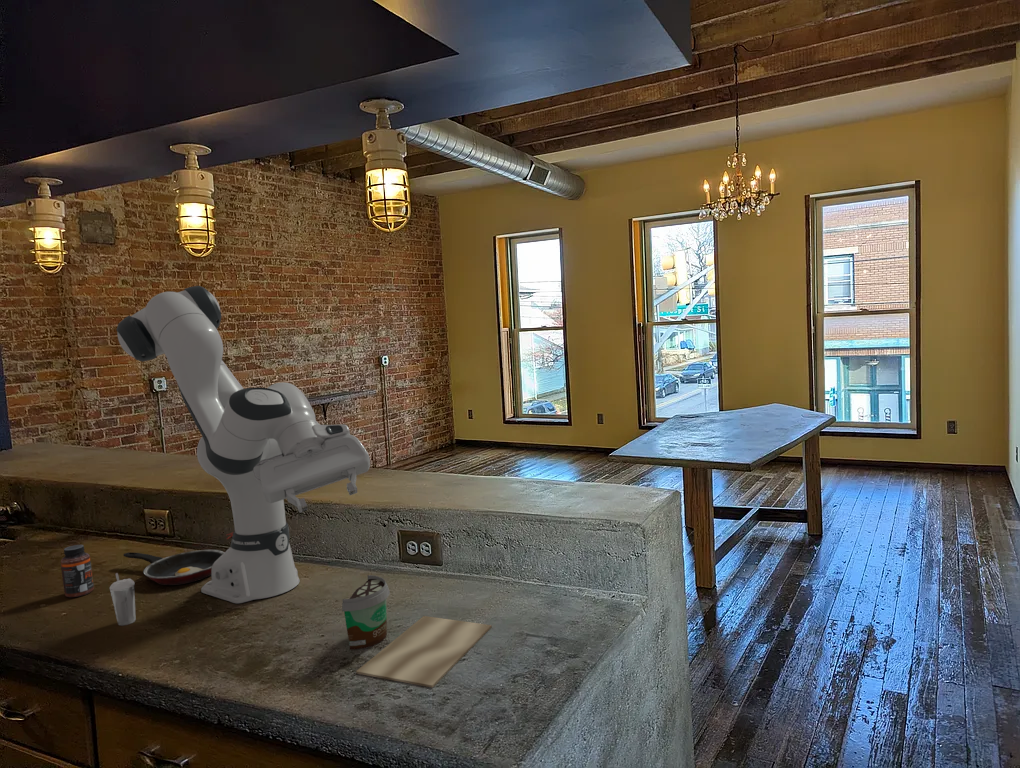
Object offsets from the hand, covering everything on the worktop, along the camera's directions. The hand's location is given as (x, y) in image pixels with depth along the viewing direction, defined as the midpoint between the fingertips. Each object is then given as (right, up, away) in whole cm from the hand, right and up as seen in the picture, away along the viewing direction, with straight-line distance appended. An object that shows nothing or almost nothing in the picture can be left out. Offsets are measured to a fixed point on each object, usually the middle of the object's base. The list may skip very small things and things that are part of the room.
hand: (329, 500), depth 126 cm
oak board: (+18, -26, -2) cm, 32 cm away
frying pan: (-53, -27, +48) cm, 76 cm away
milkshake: (-48, -29, +19) cm, 59 cm away
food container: (+8, -27, +3) cm, 28 cm away
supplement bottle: (-69, -29, +37) cm, 83 cm away
